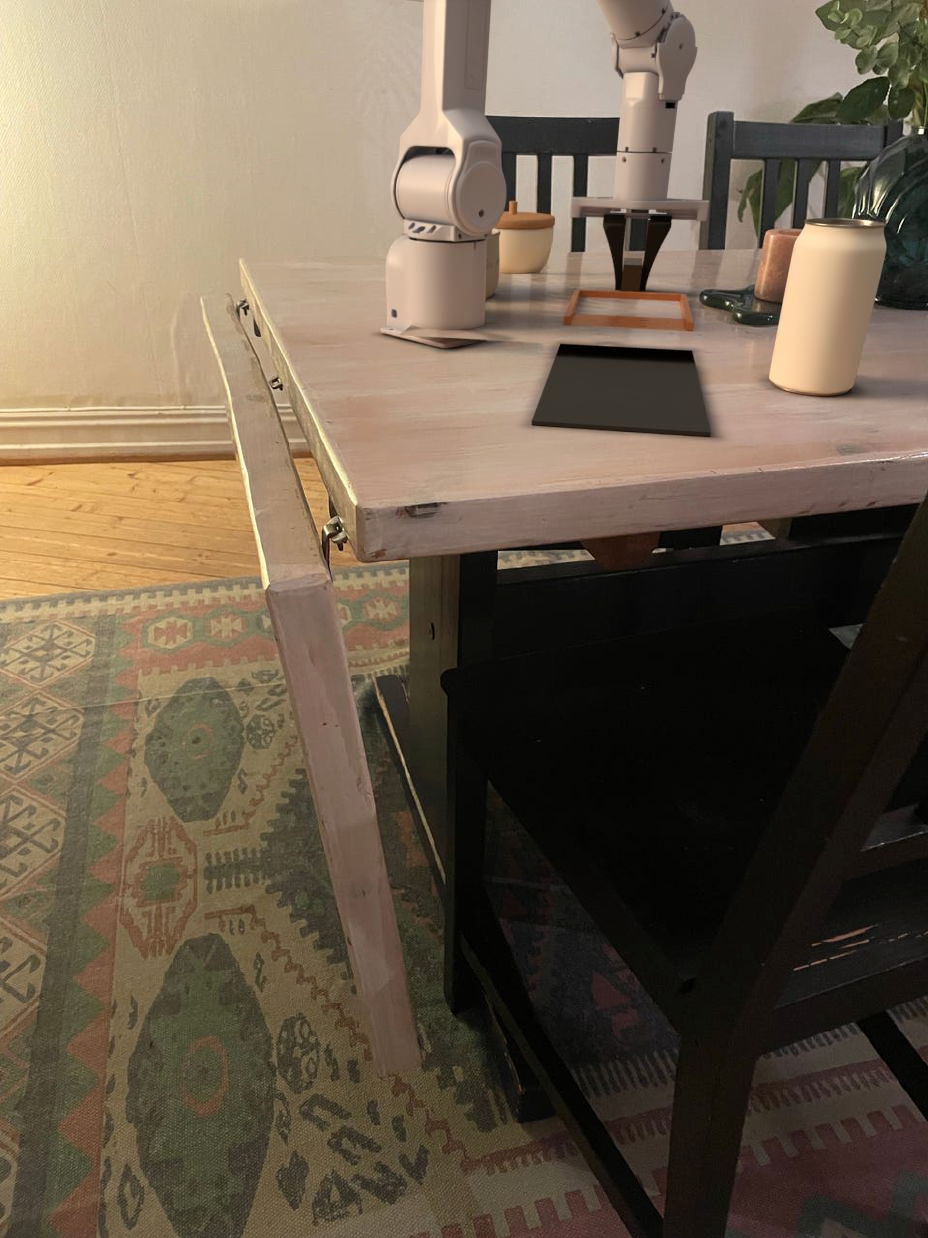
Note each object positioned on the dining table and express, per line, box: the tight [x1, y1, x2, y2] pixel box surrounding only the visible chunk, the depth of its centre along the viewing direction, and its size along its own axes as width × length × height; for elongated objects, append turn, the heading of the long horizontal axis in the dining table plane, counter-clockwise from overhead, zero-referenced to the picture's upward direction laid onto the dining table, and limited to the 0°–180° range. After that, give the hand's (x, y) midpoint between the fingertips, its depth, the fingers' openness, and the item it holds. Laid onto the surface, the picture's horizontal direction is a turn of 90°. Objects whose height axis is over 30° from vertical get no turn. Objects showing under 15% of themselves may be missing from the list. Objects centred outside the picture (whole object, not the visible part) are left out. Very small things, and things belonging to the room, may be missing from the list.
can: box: [768, 217, 887, 397], centre depth 66 cm, size 6×6×12 cm
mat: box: [531, 343, 712, 437], centre depth 69 cm, size 12×26×1 cm, turn 170°
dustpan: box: [563, 257, 695, 332], centre depth 89 cm, size 12×22×4 cm, turn 170°
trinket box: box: [495, 200, 556, 274], centre depth 111 cm, size 11×11×9 cm
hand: (630, 289), depth 97 cm, fingers closed on dustpan, 2 cm apart
